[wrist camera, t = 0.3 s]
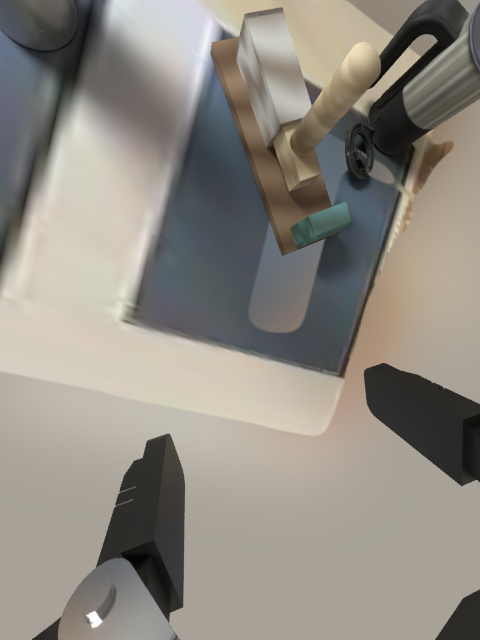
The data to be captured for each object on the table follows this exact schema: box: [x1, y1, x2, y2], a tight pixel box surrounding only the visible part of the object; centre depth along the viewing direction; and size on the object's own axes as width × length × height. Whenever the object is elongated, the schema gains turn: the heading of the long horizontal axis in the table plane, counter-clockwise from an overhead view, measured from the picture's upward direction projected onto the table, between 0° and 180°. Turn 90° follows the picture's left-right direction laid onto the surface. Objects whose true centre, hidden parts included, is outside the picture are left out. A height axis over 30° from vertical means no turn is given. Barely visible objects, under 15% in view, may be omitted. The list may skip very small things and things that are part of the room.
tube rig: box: [211, 7, 353, 256], centre depth 33 cm, size 29×10×7 cm, turn 23°
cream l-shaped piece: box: [273, 42, 381, 192], centre depth 27 cm, size 18×3×15 cm, turn 22°
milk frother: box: [345, 0, 480, 181], centre depth 34 cm, size 14×16×15 cm
